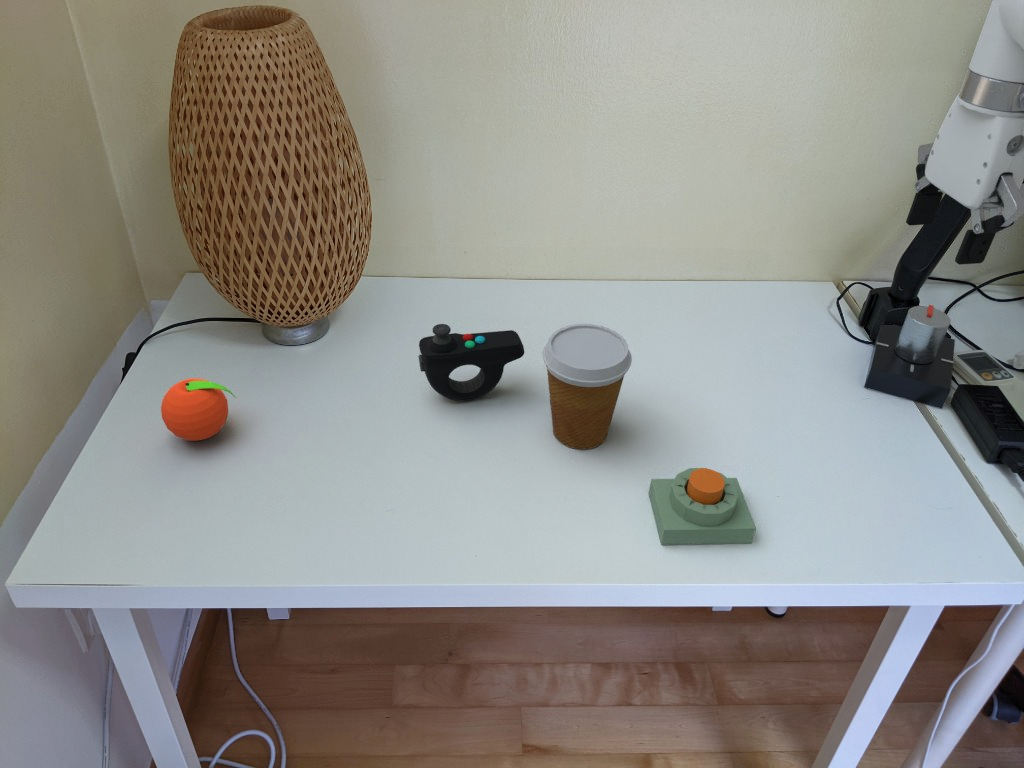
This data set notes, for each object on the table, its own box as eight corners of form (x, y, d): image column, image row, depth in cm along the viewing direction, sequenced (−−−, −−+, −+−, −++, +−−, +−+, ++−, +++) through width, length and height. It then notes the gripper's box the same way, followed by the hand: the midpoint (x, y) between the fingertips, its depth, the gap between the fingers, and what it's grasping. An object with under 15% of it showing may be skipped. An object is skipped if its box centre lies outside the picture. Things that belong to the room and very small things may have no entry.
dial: (933, 368, 95) (950, 328, 92) (892, 357, 97) (907, 318, 93) (936, 348, 98) (952, 309, 95) (895, 338, 100) (910, 300, 97)
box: (732, 492, 82) (740, 464, 79) (751, 543, 76) (760, 515, 74) (648, 493, 81) (653, 466, 79) (661, 545, 76) (666, 517, 73)
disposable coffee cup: (522, 438, 88) (525, 351, 81) (565, 395, 94) (572, 312, 87) (595, 471, 84) (605, 383, 77) (635, 425, 90) (648, 339, 83)
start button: (716, 480, 78) (720, 467, 77) (725, 505, 75) (728, 492, 74) (683, 480, 78) (686, 468, 77) (691, 505, 75) (693, 492, 74)
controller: (419, 389, 95) (415, 320, 89) (518, 378, 97) (520, 310, 91) (423, 411, 92) (419, 341, 86) (525, 399, 94) (528, 330, 88)
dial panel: (941, 408, 94) (951, 388, 92) (863, 387, 97) (871, 367, 95) (946, 358, 102) (955, 338, 100) (874, 340, 105) (882, 320, 103)
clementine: (245, 409, 91) (232, 360, 87) (242, 447, 86) (229, 397, 82) (173, 417, 90) (157, 368, 86) (166, 457, 84) (148, 407, 80)
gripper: (1097, 118, 73) (1021, 277, 84) (981, 67, 87) (928, 209, 97) (1026, 121, 72) (958, 281, 83) (920, 68, 86) (873, 212, 96)
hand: (942, 242), depth 90 cm, fingers open, 9 cm apart
